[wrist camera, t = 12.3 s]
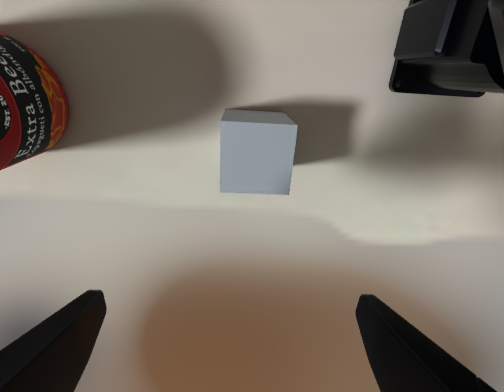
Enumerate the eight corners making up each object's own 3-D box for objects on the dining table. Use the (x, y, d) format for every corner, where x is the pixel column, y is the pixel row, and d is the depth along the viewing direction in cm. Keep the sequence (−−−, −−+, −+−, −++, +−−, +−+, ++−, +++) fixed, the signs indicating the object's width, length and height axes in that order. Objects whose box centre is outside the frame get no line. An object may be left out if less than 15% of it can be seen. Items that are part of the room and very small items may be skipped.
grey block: (283, 112, 18) (298, 124, 14) (277, 167, 20) (289, 194, 16) (225, 108, 18) (220, 120, 14) (224, 165, 20) (219, 192, 15)
